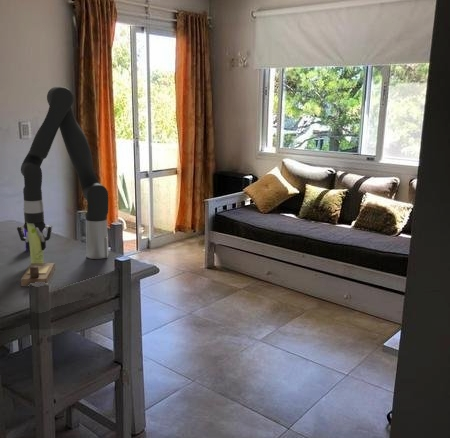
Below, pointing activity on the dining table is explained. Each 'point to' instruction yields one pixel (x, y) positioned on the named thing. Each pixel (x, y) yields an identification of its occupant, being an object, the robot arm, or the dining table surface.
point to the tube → (35, 244)
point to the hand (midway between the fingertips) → (36, 249)
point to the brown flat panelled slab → (38, 273)
